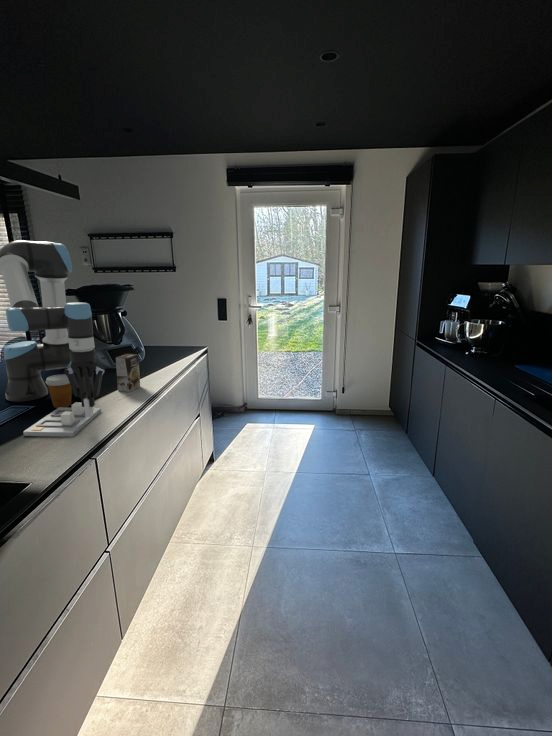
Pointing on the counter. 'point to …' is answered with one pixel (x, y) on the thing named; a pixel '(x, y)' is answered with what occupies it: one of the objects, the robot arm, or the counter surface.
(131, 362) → the coffee box
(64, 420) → the tab
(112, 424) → the counter surface
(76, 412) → the tab
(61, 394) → the disposable coffee cup
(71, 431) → the switch plate
